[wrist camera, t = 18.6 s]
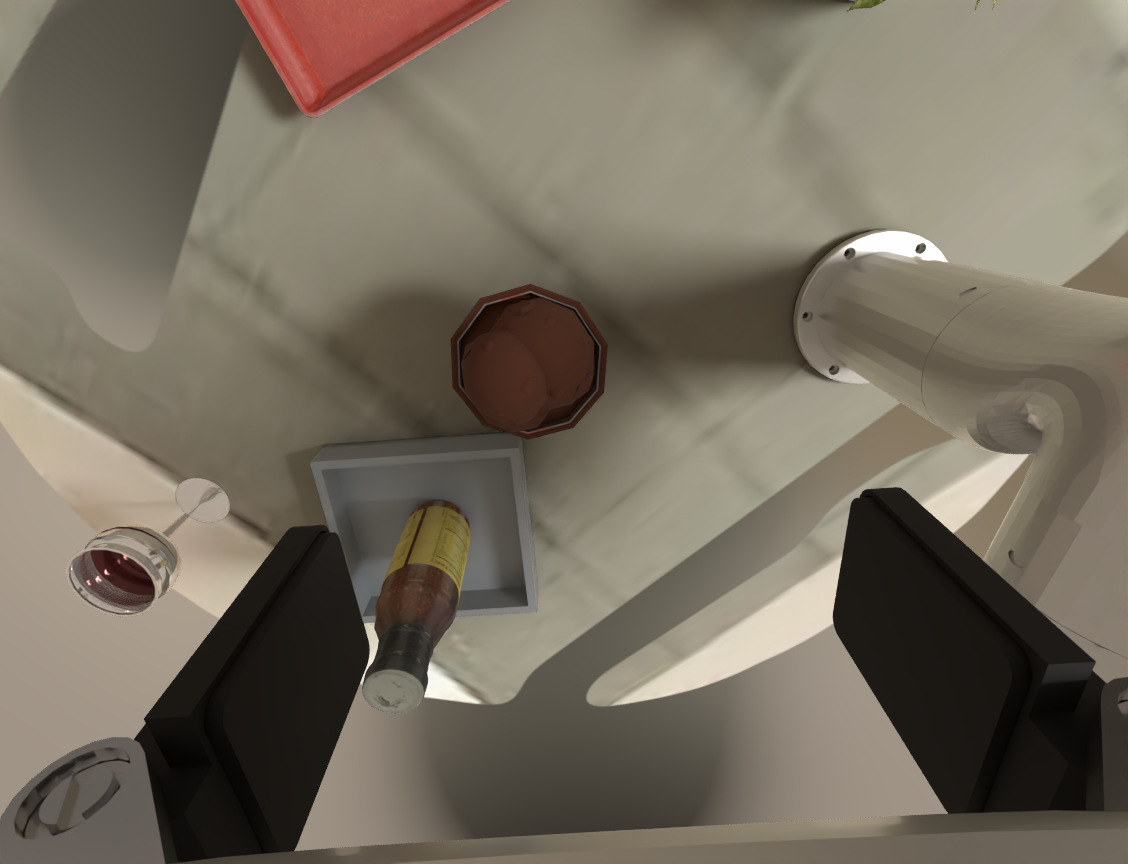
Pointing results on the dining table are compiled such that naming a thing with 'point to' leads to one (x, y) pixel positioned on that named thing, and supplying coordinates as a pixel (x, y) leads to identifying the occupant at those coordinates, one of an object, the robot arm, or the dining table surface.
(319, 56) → the red square tray
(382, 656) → the sauce bottle
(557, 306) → the ice cream bowl
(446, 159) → the dining table surface
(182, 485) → the wineglass
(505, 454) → the parts tray
